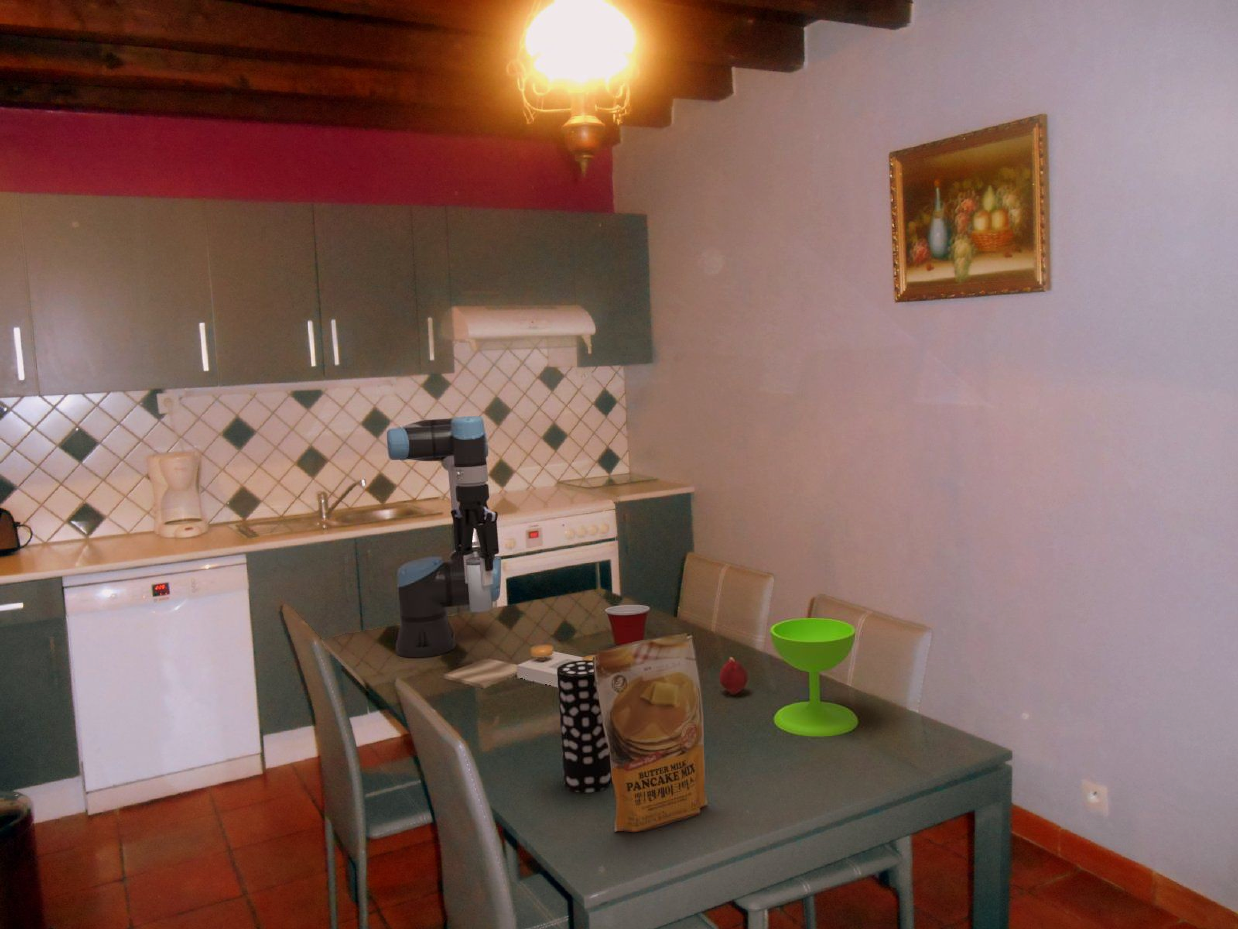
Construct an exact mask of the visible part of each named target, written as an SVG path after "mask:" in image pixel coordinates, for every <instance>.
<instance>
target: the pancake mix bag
mask: <svg viewBox="0 0 1238 929" xmlns="http://www.w3.org/2000/svg"><path fill="white" fill-rule="evenodd" d="M695 645H696V644H695V639H694V636H693V635H688V632H687V631H685V632H684V631H683V632H680V631H679V632H676V633H672V634H671V633H670V634H666V635H663V636H660V637H656V638H649V639H644V640H641V641H637V642H632V643H628V644H625V645H620V646H616V645H615V646H612V647H609V648H606V649H603V650H599V651H598V652H597V653H596V654H594V655H595V656H594V657H593V658H592V659H593V669H594V677H595V685H596V690H597V694H598V697H599V704H600V710H601V717H602V724H603V729H604V733H605V737H606V741H607V744H608V748H609V752H610V763H611V775H612V785H613V789H614V794H615V802H616V803H615V804H616V812H615V813H616V814H615V822H614V829H613V832H614V833H616V832H622V831H623V832H629V833H637V832H643V831H647V830H650V829H654V828H657V827H662V826H664V825H668V824H671V823H674V822H677V821H680V820H681V821H682V820H685V819H689V818H690V817H694V816H695V817H696V816H697V815H700V814H701V809H702V808H704V807H705V806H706V805H708V801H707V797H706V791H705V784H706V783H705V780H706V778H705V776H706V775H705V774H706V772H705V770H706V769H705V768H706V767H705V765H706V764H705V746H704V745H705V744H704V743H705V742H704V741H705V740H704V739H705V738H704V737H705V733H704V732H705V730H704V729H705V728H704V727H705V726H704V721H705V718H704V715H705V714H704V709H703V690H702V689H703V688H702V684H701V683H702V682H701V676H700V670H699V665H698V656H697V649H696V646H695Z"/></svg>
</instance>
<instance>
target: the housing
mask: <svg viewBox="0 0 1238 929" xmlns="http://www.w3.org/2000/svg"><path fill="white" fill-rule="evenodd" d="M582 658H583V657H582V656H578V655H572V654H567V653H563V652H558V651H554V650H553V654H552V655H550V656H547V661H545V662H543V663H542V662H538V657H534V658H532V659H529V660H527V661H523V662H521V663H519V664H516V665H517V675H516V676H517V679H520V678H523V679H522V680H524V679H525V680H524V681H529V682H533V681H534V682H533V683H538V684H542V685H545V684H547V686H549V685H551V686H550V687H554V688H558V680H557V668H558V667H559V666H561V665H563V664H565V663H568V662H573V661H580V660H582Z"/></svg>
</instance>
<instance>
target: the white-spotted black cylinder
mask: <svg viewBox="0 0 1238 929" xmlns="http://www.w3.org/2000/svg"><path fill="white" fill-rule="evenodd" d="M557 680H558V687H557V691H558V708H559V726H560V738H561V741H560V742H561V754H562V767H563V768H562V769H563V770H562V771H563V784H564V786H565V788H566V789H568V790H569V791H572V792H576V793H584V794H585V793H594V792H600V791H602V790H604V789H607V788H608V787H609V786H611V785H613V782H612V775H611V763H610V752H609V748H608V744H607V741H606V737H605V733H604V729H603V724H602V717H601V710H600V704H599V697H598V694H597V690H596V685H595V677H594V669H593V660H580V661H573V662H568V663H565V664H563V665H561V666H559V667H558V668H557Z"/></svg>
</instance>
